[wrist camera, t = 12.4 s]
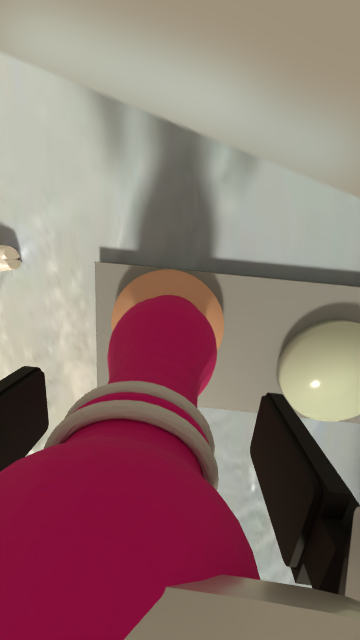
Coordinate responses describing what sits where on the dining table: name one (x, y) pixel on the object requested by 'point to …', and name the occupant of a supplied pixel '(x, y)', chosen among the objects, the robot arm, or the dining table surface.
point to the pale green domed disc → (323, 370)
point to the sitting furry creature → (9, 258)
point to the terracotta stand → (171, 285)
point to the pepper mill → (121, 491)
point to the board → (238, 327)
